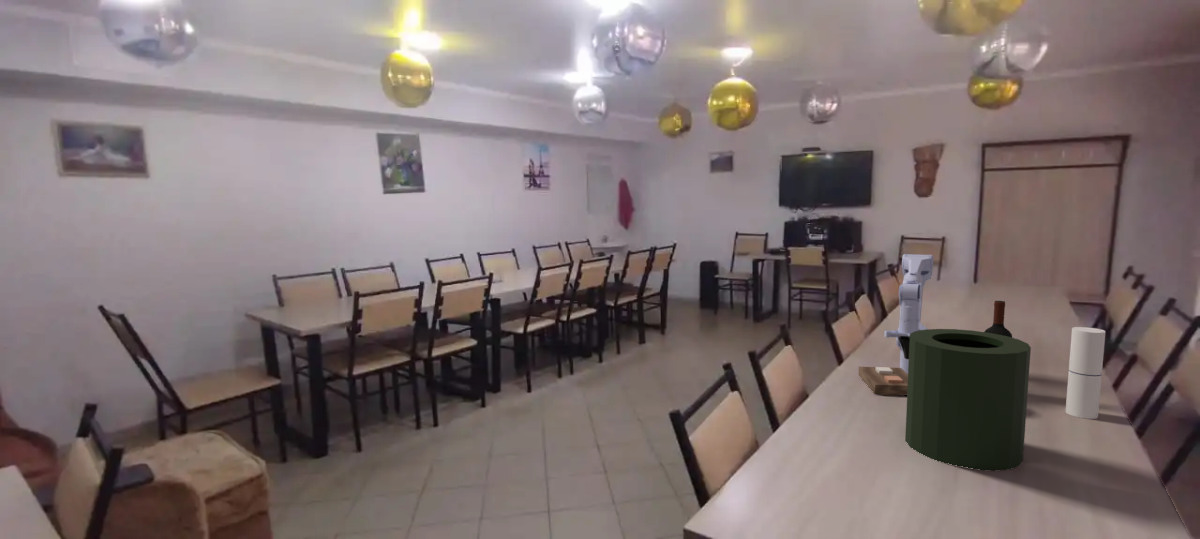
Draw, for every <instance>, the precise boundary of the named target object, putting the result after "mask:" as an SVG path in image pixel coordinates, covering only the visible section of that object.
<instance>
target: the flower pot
mask: <svg viewBox="0 0 1200 539" xmlns="http://www.w3.org/2000/svg"><path fill="white" fill-rule="evenodd" d="M1031 350H1032V347H1031V346H1030V344H1029V343H1027V342H1025V341H1024V340H1021V339H1018V338H1015V337H1012V338H1011V337H1008V336H1003V335H998V334H993V333H987V332H984V331H980V330H979V331H978V330H971V329H970V330H967V329H958V328H957V329H956V328H932V329H931V328H930V329H928V328H927V330H920V331H915V332H913V333H911V334H910V343H909V366H908V389H907V396H906V412H905V414H906V415H905V434H904V435H905V440H904V441H905V442H907V443H908V444H907V443H906V444H907V445H908V446H909V448H910V449H912V448H913V449H912V450H914V451H915V450H916V451H915V452H917V453H918V452H919V453H918V454H920V453H921V454H923V455H922V456H924V455H925V456H924V457H926V456H927V457H926V458H928V457H929V458H928V459H931V460H933V459H934V460H933V461H935V460H937V461H936V462H939V461H941V462H940V463H942V462H944V463H943V464H945V463H949V464H952V465H957V466H963V467H968V468H973V469H980V470H979V471H985V470H991V471H990V472H996V471H995V470H1000V471H1008V470H1007V469H1010V470H1012V469H1011V468H1013V469H1015V468H1017V466H1018V467H1020V466H1019V465H1021V464H1022V463H1023V461H1024V451H1025V436H1026V435H1025V433H1026V421H1027V409H1028V408H1027V405H1028V394H1029V377H1030V365H1031V362H1030V361H1031ZM921 454H920V455H921ZM949 464H948V465H949ZM952 465H951V466H952ZM973 469H972V470H973Z"/></svg>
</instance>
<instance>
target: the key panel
mask: <svg viewBox="0 0 1200 539" xmlns="http://www.w3.org/2000/svg"><path fill="white" fill-rule="evenodd" d="M875 367H876V366H858V373H857V374H858V375H859V376H860V377H861V378H862V379H861V378H860V377H859V376H858V377H859V378H860V379H861V381H862V382H863V381H864V382H865V383H866V384H867V385H868V386H867V385H866V384H865V383H864V382H863V383H864V384H865V385H866V386H867V388H868V389H869V388H870V389H871V390H872V391H873V392H872V391H871V390H870V389H869V390H870V391H871V392H872V393H873V395H875V394H881V395H880V396H896V395H907V389H908V374H907V373H906V372H905V371H904V370H903V369H902V368H900V367H889V368H890V369H891V370H892V371H893V374H883V373H878V372H877V371H876V370H875ZM884 376H899V377H900V378H901V379H902V380H903V383H888V382H887V381H886V380H885V379H884Z"/></svg>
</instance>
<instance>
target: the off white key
mask: <svg viewBox="0 0 1200 539" xmlns="http://www.w3.org/2000/svg"><path fill="white" fill-rule="evenodd" d="M874 367H875V370H876V371H877V372H878V373H883V374H893V371H892V370H891V369H890V368H891V367H888V366H887V367H885V366H882V367H881V366H874Z"/></svg>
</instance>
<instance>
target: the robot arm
mask: <svg viewBox="0 0 1200 539" xmlns="http://www.w3.org/2000/svg"><path fill="white" fill-rule="evenodd" d="M901 259H902V260H901V269H902V275H903V280H902V284H900V285H899V287H898V300H899V301H898V303H899V304H898V305H899V322H898V323H899V324H898V327H897V329H894V330H884V335H883V336H884V337H885V338H886V339H887V338H895V344H896V347H898V348H899V350H900V351H899V368H902V369H903V370H904V371H905V372H906V373H907V374H908V366H909V343H910V334H911V333H913V332H915V331H920V330H927V329H928V327H927V326H925V325H924V324H922V323H921V320H922V308H923V306H922V305H923V296H924V295H923V293H924V286H925V284H926V282H927V281H929V280H931V279H932V277H933V269H934V255H933V254H914V253H913V254H910V253H909V254H908V253H904V254H903V255H902V258H901Z"/></svg>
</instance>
